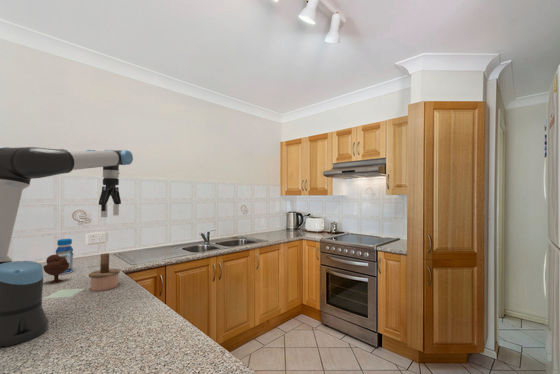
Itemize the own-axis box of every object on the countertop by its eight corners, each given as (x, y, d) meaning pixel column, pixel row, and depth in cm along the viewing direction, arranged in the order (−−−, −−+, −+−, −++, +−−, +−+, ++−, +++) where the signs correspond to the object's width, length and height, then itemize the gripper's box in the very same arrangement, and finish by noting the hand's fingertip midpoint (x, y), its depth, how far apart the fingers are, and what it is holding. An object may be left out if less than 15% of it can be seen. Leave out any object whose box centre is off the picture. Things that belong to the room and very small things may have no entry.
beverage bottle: (76, 270, 162) (77, 238, 162) (63, 275, 153) (64, 240, 154) (64, 270, 162) (64, 238, 163) (50, 274, 154) (51, 240, 155)
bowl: (111, 291, 126) (111, 276, 126) (85, 292, 124) (85, 278, 124) (121, 283, 137) (121, 270, 137) (98, 285, 135) (98, 271, 135)
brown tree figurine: (54, 286, 133) (54, 257, 134) (36, 285, 135) (37, 256, 136) (74, 280, 143) (75, 252, 144) (58, 279, 146) (58, 251, 146)
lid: (112, 277, 125) (113, 256, 126) (82, 278, 123) (83, 257, 123) (124, 269, 138) (124, 251, 138) (97, 271, 136) (97, 252, 136)
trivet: (71, 298, 118) (71, 296, 118) (43, 299, 116) (43, 298, 116) (85, 289, 129) (85, 288, 129) (60, 291, 127) (60, 289, 127)
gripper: (107, 176, 134) (106, 218, 133) (127, 179, 158) (127, 214, 158) (91, 176, 133) (90, 218, 132) (114, 179, 157) (113, 214, 156)
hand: (110, 216), depth 145 cm, fingers open, 13 cm apart
